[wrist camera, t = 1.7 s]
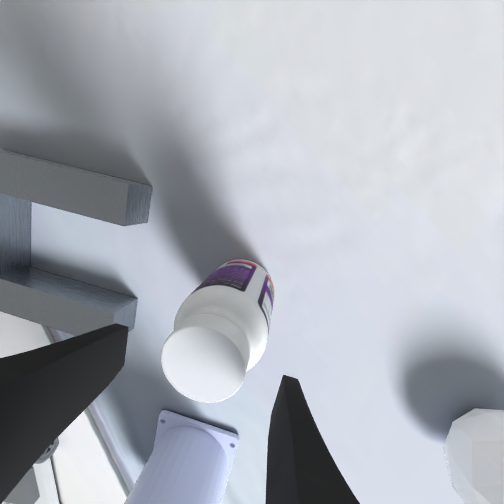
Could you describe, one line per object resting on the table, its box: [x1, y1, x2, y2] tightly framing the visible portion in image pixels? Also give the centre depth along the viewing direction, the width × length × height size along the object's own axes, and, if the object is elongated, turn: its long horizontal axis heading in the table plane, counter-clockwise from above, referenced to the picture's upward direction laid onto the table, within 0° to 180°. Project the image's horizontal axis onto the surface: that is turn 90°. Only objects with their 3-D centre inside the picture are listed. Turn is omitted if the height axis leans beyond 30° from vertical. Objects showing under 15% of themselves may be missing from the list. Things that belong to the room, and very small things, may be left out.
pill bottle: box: [161, 259, 274, 403], centre depth 16 cm, size 5×5×10 cm
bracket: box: [0, 149, 152, 336], centre depth 20 cm, size 13×14×3 cm
